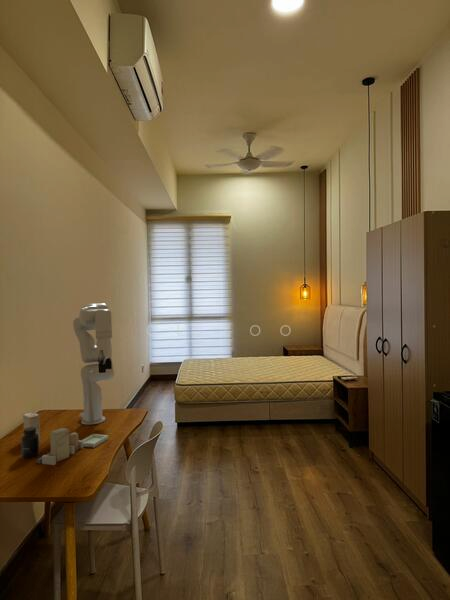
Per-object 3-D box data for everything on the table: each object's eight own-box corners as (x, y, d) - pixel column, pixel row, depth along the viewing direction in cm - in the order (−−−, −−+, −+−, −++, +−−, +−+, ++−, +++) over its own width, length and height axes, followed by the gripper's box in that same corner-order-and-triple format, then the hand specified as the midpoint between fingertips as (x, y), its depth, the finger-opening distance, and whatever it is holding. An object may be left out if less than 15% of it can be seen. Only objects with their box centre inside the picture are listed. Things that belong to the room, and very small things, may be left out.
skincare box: (56, 462, 158) (55, 433, 158) (50, 460, 160) (49, 431, 160) (70, 456, 163) (69, 428, 163) (63, 454, 165) (62, 427, 165)
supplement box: (40, 441, 181) (39, 414, 181) (30, 445, 178) (29, 417, 178) (34, 437, 187) (33, 411, 187) (23, 440, 183) (22, 414, 183)
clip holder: (37, 463, 157) (36, 455, 157) (68, 445, 175) (68, 438, 175) (53, 465, 155) (53, 457, 155) (83, 447, 173) (83, 440, 173)
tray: (78, 445, 175) (78, 442, 175) (93, 437, 185) (93, 433, 185) (94, 447, 172) (94, 443, 172) (108, 439, 182) (108, 435, 182)
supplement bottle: (21, 460, 161) (20, 432, 160) (22, 454, 167) (20, 427, 166) (39, 457, 164) (38, 429, 164) (39, 451, 170) (38, 425, 170)
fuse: (67, 451, 168) (66, 434, 168) (73, 448, 172) (72, 431, 172) (74, 452, 167) (73, 435, 167) (80, 449, 171) (79, 432, 171)
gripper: (101, 334, 189) (103, 368, 189) (90, 337, 172) (91, 374, 172) (116, 333, 189) (118, 367, 189) (106, 336, 172) (108, 373, 172)
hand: (105, 370), depth 180 cm, fingers open, 9 cm apart
